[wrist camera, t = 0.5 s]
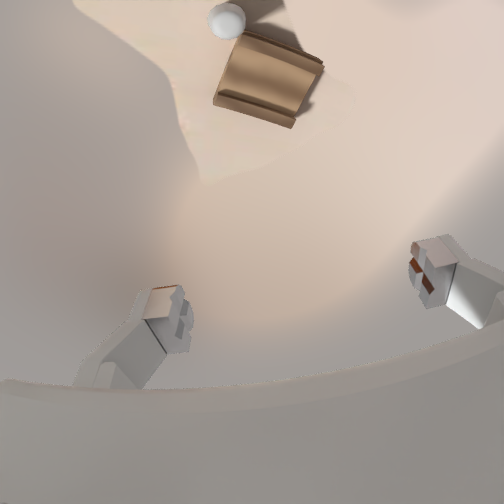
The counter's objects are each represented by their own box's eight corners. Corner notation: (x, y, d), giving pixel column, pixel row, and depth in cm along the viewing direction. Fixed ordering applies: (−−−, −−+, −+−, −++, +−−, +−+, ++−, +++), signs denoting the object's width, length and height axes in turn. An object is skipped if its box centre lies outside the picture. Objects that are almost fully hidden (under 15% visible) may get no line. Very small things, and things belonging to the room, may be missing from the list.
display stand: (241, 28, 38) (243, 31, 36) (318, 58, 43) (326, 64, 40) (213, 98, 48) (213, 107, 45) (285, 120, 53) (289, 131, 50)
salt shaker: (251, 13, 37) (262, 20, 28) (231, 39, 40) (235, 54, 32) (220, -4, 34) (221, -3, 25) (200, 23, 37) (195, 33, 29)
